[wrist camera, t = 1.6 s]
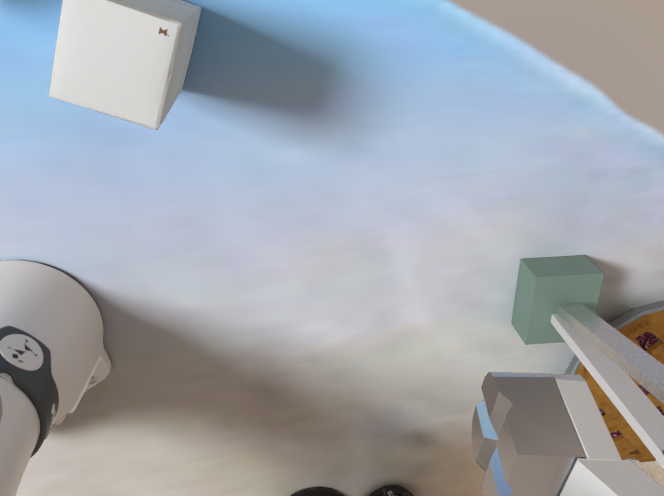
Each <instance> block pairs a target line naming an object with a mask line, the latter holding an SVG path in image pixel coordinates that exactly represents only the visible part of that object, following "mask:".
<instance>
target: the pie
mask: <svg viewBox="0 0 664 496" xmlns="http://www.w3.org/2000/svg"><path fill="white" fill-rule="evenodd" d="M608 324H609V325H611V326H612V327H613V328H615V329H616V330H617V331H619V332H620V333H621V334H623V335H624V336H625V337H627V338H628V339H630V340H631V341H632V342H634V343H635V344H636V345H638V346H639V347H640V348H642V349H643V350H644V351H646V352H647V353H648V354H650V355H651V356H652V357H654V358H655V359H656V360H658V361H659V362H660V363H662V364H663V365H664V301H660V302H656V303H653V304H649V305H646V306H642V307H638V308H635V309H631V310H630V311H628V312H626V313H624V314H623V315H621V316H619V317H618V318H616V319H614V320H613V321H611V322H609V323H608ZM565 374H573V375H581V376H582V377H583V378H584V379H585V380H586V382H587V385H588V387H589V389H590V391H591V393H592V395H593V398H594V400H595V402H596V404H597V406H598V408H599V411H600V413H601V415H602V417H603V419H604V421H605V424H606V426H607V428H608V430H609V432H610V434H611V437H612V439H613V441H614V443H615V445H616V447H617V450H618V452H619V454H620V456H621V458H622V460H625V459H632V460H638V461H640V462H646V461H655V460H656V459H655V457H654V456H653V455H652V453H651V452H650V451H649V449H648V448H647V447H646V446H645V444H644V443H643V442H642V440H641V439H640V438H639V436H638V435H637V434H636V433H635V431H634V430H633V429H632V427H631V426H630V425H629V423H628V422H627V421H626V420H625V418H624V417H623V416H622V414H621V413H620V412H619V410H618V409H617V408H616V407H615V405H614V404H613V403H612V401H611V400H610V399H609V397H608V396H607V395H606V394H605V392H604V391H603V390H602V388H601V387H600V386H599V384H598V383H597V382H596V381H595V379H594V378H593V377H592V375H591V374H590V373H589V371H588V370H587V369H586V368H585V366H584V365H583V364H582V362H581V361H580V360H579V358H578V357H577V356H576V355H574V357H573V359H572V361H571V363H570V365H569V367H568V369H567V371H566V373H565ZM629 376H630V375H629ZM630 378H631V379H632V380H633V381H634V382H635V383H636V385H637V386H638V387H639V388H640V389H641V390H642V392H643V393H644V394H645V395H646V396H647V397H648V399H649V400H650V401H651V402H652V403H653V404H654V406H655V407H656V408H657V409H658V410H659V411H660V412H661V414H662V415H663V416H664V404H663V403H662V402H660V401H659V400H658V399H657V398H656V397H654V396H653V395H652V394H651V393H650V392H649V391H647V390H646V389H645V388H644V387H643V386H641V385H640V384H639V383H638V382H637V381H635V380H634V379H633V378H632V377H631V376H630Z"/></svg>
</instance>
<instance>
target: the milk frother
mask: <svg viewBox="0 0 664 496" xmlns="http://www.w3.org/2000/svg"><path fill="white" fill-rule="evenodd" d="M291 496H344V495H342V494H341V493H339V492H337V491H335V490H332V489H329V488H322V487H315V488H308V489H304V490H301V491H298V492H296V493H294V494H293V495H291ZM370 496H413V495H412V494H411V493H410V492H409V491H408V490H406V489H404V488H402V487H398V486H387V487H383V488H380V489H378V490H376V491H374V492H373V493H372V494H371V495H370Z"/></svg>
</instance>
